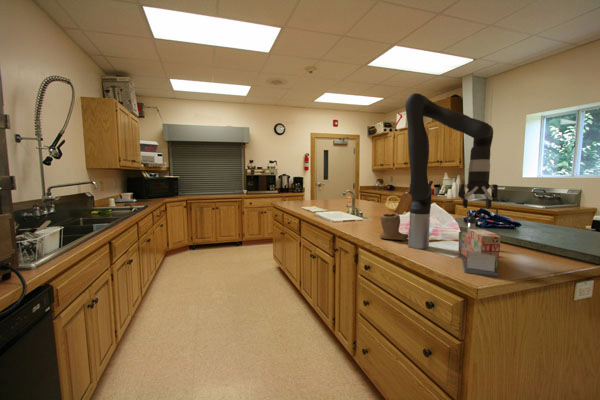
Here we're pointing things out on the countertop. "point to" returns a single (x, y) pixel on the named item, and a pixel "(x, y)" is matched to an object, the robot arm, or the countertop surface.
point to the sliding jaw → (471, 223)
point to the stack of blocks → (479, 242)
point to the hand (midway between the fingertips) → (476, 208)
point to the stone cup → (391, 227)
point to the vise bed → (464, 260)
